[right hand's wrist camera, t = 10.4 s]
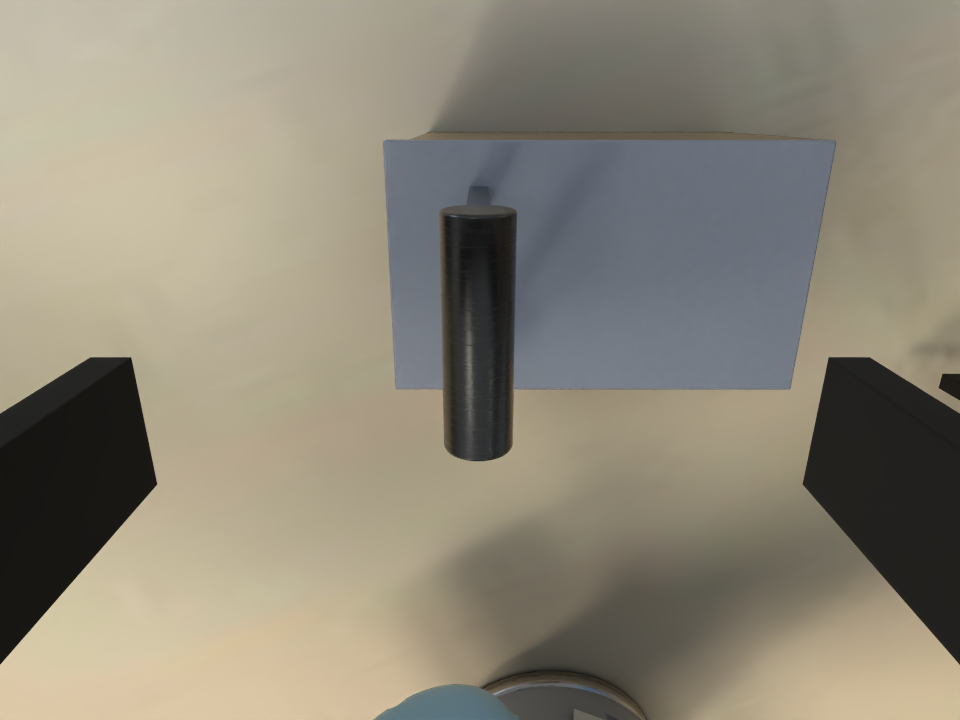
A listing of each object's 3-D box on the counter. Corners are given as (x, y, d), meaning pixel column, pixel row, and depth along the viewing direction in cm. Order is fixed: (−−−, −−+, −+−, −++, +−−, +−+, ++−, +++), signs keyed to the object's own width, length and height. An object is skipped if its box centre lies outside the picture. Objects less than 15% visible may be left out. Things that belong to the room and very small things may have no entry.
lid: (398, 381, 26) (359, 505, 18) (386, 139, 23) (332, 154, 15) (781, 382, 26) (920, 505, 18) (825, 139, 23) (1020, 154, 15)
